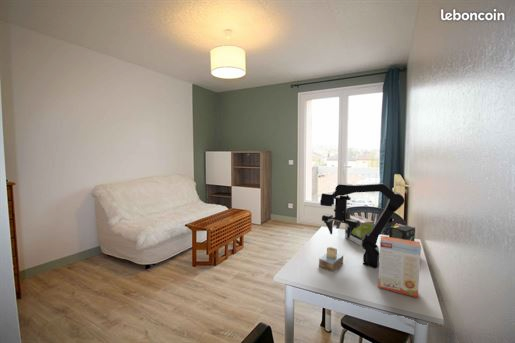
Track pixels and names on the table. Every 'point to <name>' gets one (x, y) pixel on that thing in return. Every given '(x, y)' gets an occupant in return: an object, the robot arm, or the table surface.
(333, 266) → the walnut box
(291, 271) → the table surface
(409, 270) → the cracker box
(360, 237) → the tea box
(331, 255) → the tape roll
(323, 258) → the lid
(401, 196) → the robot arm
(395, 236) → the tampon box
